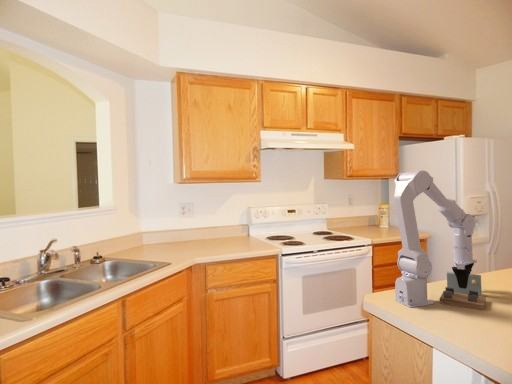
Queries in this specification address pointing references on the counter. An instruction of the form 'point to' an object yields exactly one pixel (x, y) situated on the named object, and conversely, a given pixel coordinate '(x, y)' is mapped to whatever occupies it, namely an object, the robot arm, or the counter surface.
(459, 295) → the cabinet base
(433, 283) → the counter surface
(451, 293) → the short dark cabinet legs
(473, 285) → the grey rectangular block
